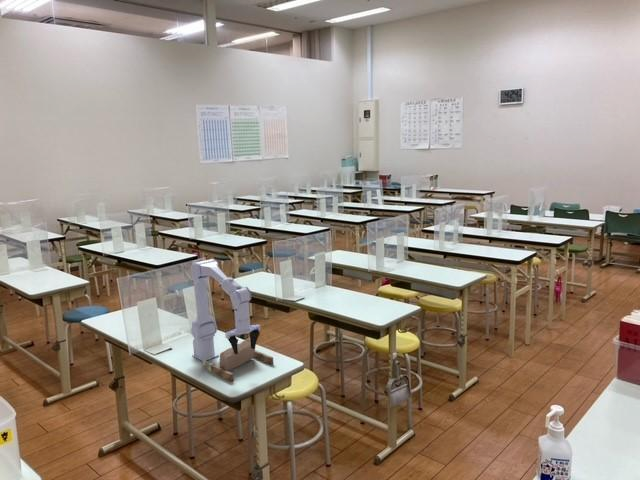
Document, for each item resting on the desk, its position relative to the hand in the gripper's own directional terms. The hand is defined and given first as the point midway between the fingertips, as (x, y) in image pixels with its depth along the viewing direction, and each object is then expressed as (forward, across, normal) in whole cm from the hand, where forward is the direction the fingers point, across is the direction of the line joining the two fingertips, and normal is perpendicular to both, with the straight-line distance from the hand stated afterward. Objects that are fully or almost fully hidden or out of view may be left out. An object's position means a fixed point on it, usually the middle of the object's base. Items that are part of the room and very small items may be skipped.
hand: (244, 351), depth 197 cm
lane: (+10, +2, +10) cm, 15 cm away
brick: (+11, +2, +10) cm, 15 cm away
